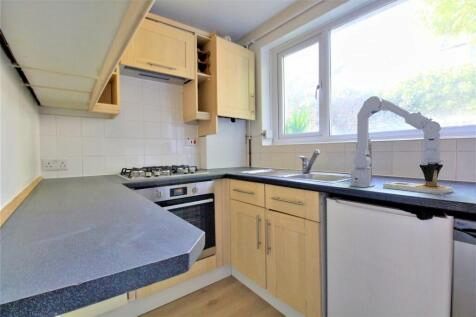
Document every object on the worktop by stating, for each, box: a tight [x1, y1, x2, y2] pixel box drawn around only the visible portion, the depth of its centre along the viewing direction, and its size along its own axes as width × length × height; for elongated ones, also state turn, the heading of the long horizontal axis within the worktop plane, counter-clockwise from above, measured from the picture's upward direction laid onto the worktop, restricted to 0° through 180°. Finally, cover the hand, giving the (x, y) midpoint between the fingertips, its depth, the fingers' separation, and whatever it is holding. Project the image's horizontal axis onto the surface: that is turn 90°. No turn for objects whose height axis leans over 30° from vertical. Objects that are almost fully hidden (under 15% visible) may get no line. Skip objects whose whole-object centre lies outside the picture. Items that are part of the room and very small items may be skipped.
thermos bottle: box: [368, 133, 373, 180], centre depth 139 cm, size 8×8×28 cm
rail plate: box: [382, 181, 454, 196], centre depth 104 cm, size 12×22×2 cm, turn 31°
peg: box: [424, 170, 438, 187], centre depth 100 cm, size 4×4×8 cm
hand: (431, 181), depth 99 cm, fingers closed on peg, 4 cm apart
